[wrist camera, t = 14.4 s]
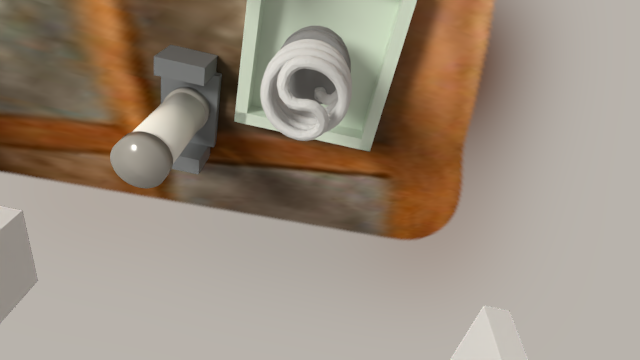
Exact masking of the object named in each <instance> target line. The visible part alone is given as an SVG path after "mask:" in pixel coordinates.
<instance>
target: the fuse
mask: <svg viewBox="0 0 640 360" xmlns="http://www.w3.org/2000/svg"><path fill="white" fill-rule="evenodd" d="M209 116H210V106H209V103H208V101H207V99H206V98H205V96H204V95H203V94H202V93H201V92H199V91H198V90H196V89H194V88H191V87H178V88H176V89H174V90H173V91H172V92H171V93H170V94H169V95H167V97H166V98H165V100H164V102H163V103H162V104H161V105H160V106H159V107H158V108H157V109H156V110H155V111H153V112H152V113H151V114H150V115H149V116H148V117H147V118H146V119H145V120H144V121H143V122H142V123H141V124H140V125H139V126H138V127H137V128H136V129H135V130H134V131H133V132H131V133H128V134H127V135H125V136H124V137H123V138H122V139H121V140H120V141H119V142H118V143H117V144H116V145H115V146H114V147H113V148H112V151H111V155H110V159H111V164H112V166H113V169H114V170H115V172H116V173H117V174H118V175H119V177H120V178H122V179H123V180H124V181H125V182H127V183H129V184H131V185H133V186H136V187H140V188H152V187H156V186H158V185H159V184H161V183H162V182H163V181H164V179H165V178H166V176H167V175H168V174H169V172H170V171H171V169H172V166H173V163H174V162H175V161H176V159H177V158H178V157H179V155H180V154H181V153H182V151H183V150H184V149H185V147H186V146H187V145H188V143H189V142H190V141H191V139H192V138H193V136H194V135H195V134H196V132H197V131H198V130H200V129H201V128H202V127H203V126H204V125H205V123H206V122H207V120H208V119H209Z"/></svg>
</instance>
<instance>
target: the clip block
mask: <svg viewBox="0 0 640 360" xmlns="http://www.w3.org/2000/svg"><path fill="white" fill-rule="evenodd" d="M217 56H218V55H213V54H209V53H205V52H200V51H196V50H191V49H187V48H183V47H178V46H174V45H170V46H168V47H167V48H165V49H164V50H162V51H161V52H159V53H158V54H157V55H155V56H154V75H157V76H161V104H162V103H163V102H164V100H165V98H166V97H167V95H169V94H170V93H171V92H172V91H173V90H174V89H176V88H178V87H191V88H194V89H196V90H198V91H199V92H201V93H202V94H203V95H204V96H205V98H206V99H207V101H208V103H209V106H210V116H209V119H208V120H207V122H206V123H205V125H204V126H203V127H202V128H201V129H200V130H198V131H197V132H196V134H195V135H194V136H193V138H192V139H191V141H190V142H189V143H188V145H187V146H186V147H185V149H184V150H183V151H182V153H181V154H180V155H179V157H178V158H177V159H176V161H175V162H174V163H173V166H172V169H176V170H181V171H185V172H190V173H194V174H199V173H200V171H201V169H202V168H203V166H204V165H205V163H206V161H207V160H208V158H209V156H210V148H211V147H214V146H215V144H216V138H217V126H218V114H219V103H220V91H221V79H222V74H221V73H217V72H216V69H217Z"/></svg>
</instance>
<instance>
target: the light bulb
mask: <svg viewBox="0 0 640 360" xmlns="http://www.w3.org/2000/svg"><path fill="white" fill-rule="evenodd" d="M350 73H351V60H350V57H349V53H348V49H347V47H346V45H345V43H344V41H343V40H342V38H341V37H340V36H339V35H337V34H336V33H335V32H334V31H333V30H331V29H329V28H327V27H323V26H308V27H304V28H302V29H300V30H298V31H296V32H294V33H293V34H292V35H291V36H289V37H288V38H287V40H286V41H285V43H284V44H283V46H282V47H281V49H280V50H279V51H278V52H277V53H276V55H275V56H274V57H273V58H272V59H271V61H270V62H269V64H268V66H267V68H266V70H265V73H264V76H263V79H262V83H261V90H260V97H261V104H262V107H263V110H264V112H265V114H266V117H267V118H268V120H269V121H270V122H271V124H272V125H273V126H274V127H275V128H276V129H277V130H278V131H280V132H281V133H282V134H284V135H286V136H288V137H290V138H293V139H296V140H301V141H308V140H314V139H315V138H317V137H319V136H321V135H322V134H323V133H325V132H327V131H330V130H331V129H333V128H334V127H335V126H337V125H338V124H339V123H340V122H341V121H342V120H343V118H344V117H345V115H346V113H347V111H348V108H349V104H350V101H351V96H352V78H351V74H350ZM320 104H325V105H328V106H327V107H323V106H322V105H320Z"/></svg>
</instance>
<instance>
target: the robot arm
mask: <svg viewBox="0 0 640 360" xmlns="http://www.w3.org/2000/svg"><path fill="white" fill-rule="evenodd" d="M37 281H38V279H37V275H36V270H35V265H34V261H33V257H32V252H31V247H30V243H29V238H28V234H27V229H26V225H25V220H24V216H23V212H22V210H18V209H14V208H9V207H4V206H0V323H1V322H2V321H3V320H4V318H6V316H7V315H8V314H9V313H10V312H11V310H13V308H14V307H15V306H16V305H17V304H18V303H19V301H20V300H21V299H22V298H23V297H24V296H25V295H26V294H27V292H28V291H29V290H30V289H31V288H32V287H33V286H34V284H35V283H36V282H37ZM450 360H528V358H527V355H526V352H525V350H524V347H523V345H522V342H521V340H520V337H519V334H518V332H517V329H516V327H515V324H514V322H513V319H512V316H511V314H510V311H508V310H503V309H499V308H494V307H489V306H483V308H482V309H481V311H480V312H479V314H478V316H477V317H476V319H475V320H474V322H473V324H472V325H471V327H470V329H469V330H468V332H467V333H466V335H465V337H464V338H463V340H462V341H461V343H460V344H459V346H458V348H457V349H456V351H455V352H454V354H453V356H452V357H451V359H450Z"/></svg>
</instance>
